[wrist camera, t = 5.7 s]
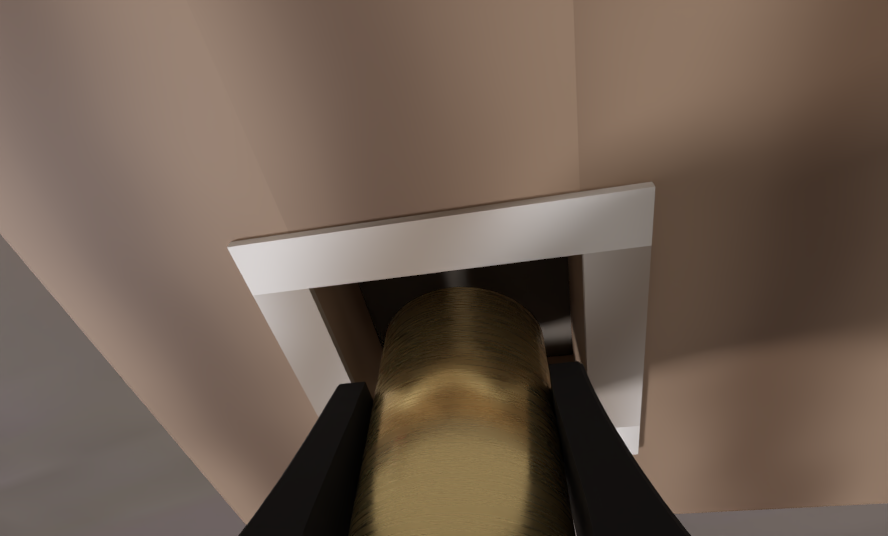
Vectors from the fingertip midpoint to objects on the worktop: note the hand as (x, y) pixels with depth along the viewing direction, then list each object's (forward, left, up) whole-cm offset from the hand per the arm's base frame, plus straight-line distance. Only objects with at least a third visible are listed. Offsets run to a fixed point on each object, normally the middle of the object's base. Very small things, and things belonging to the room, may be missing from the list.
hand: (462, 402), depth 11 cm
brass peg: (0, 0, -2) cm, 2 cm away
